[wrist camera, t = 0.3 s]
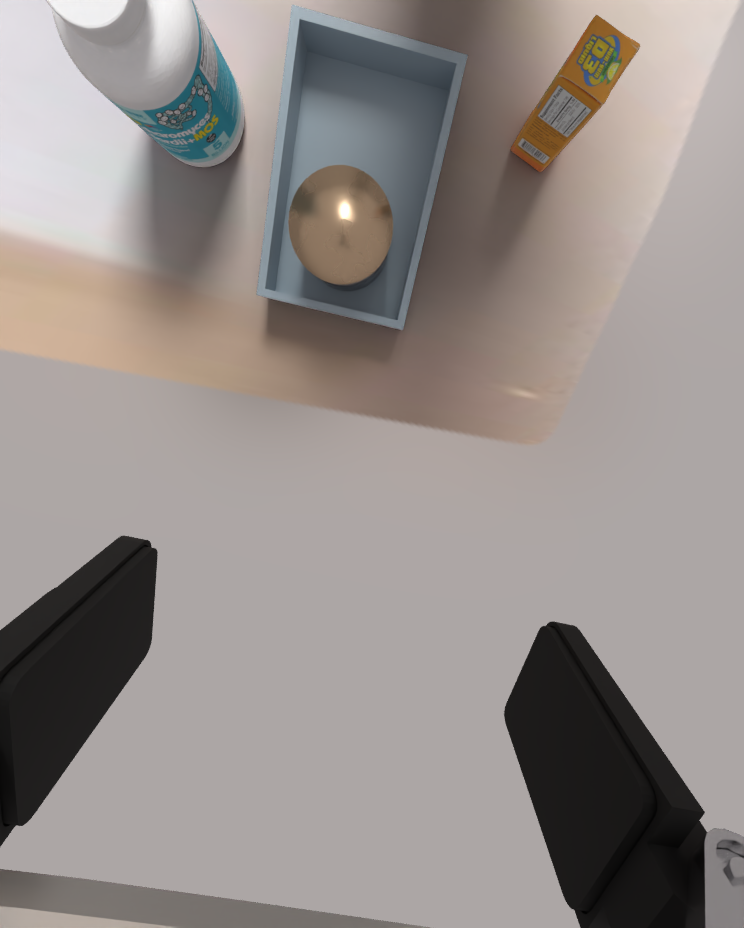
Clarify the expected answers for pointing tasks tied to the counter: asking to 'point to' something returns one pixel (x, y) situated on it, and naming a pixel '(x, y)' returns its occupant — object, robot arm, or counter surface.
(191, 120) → the pill bottle
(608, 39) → the supplement box
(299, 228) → the tin
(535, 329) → the counter surface
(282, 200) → the tote
